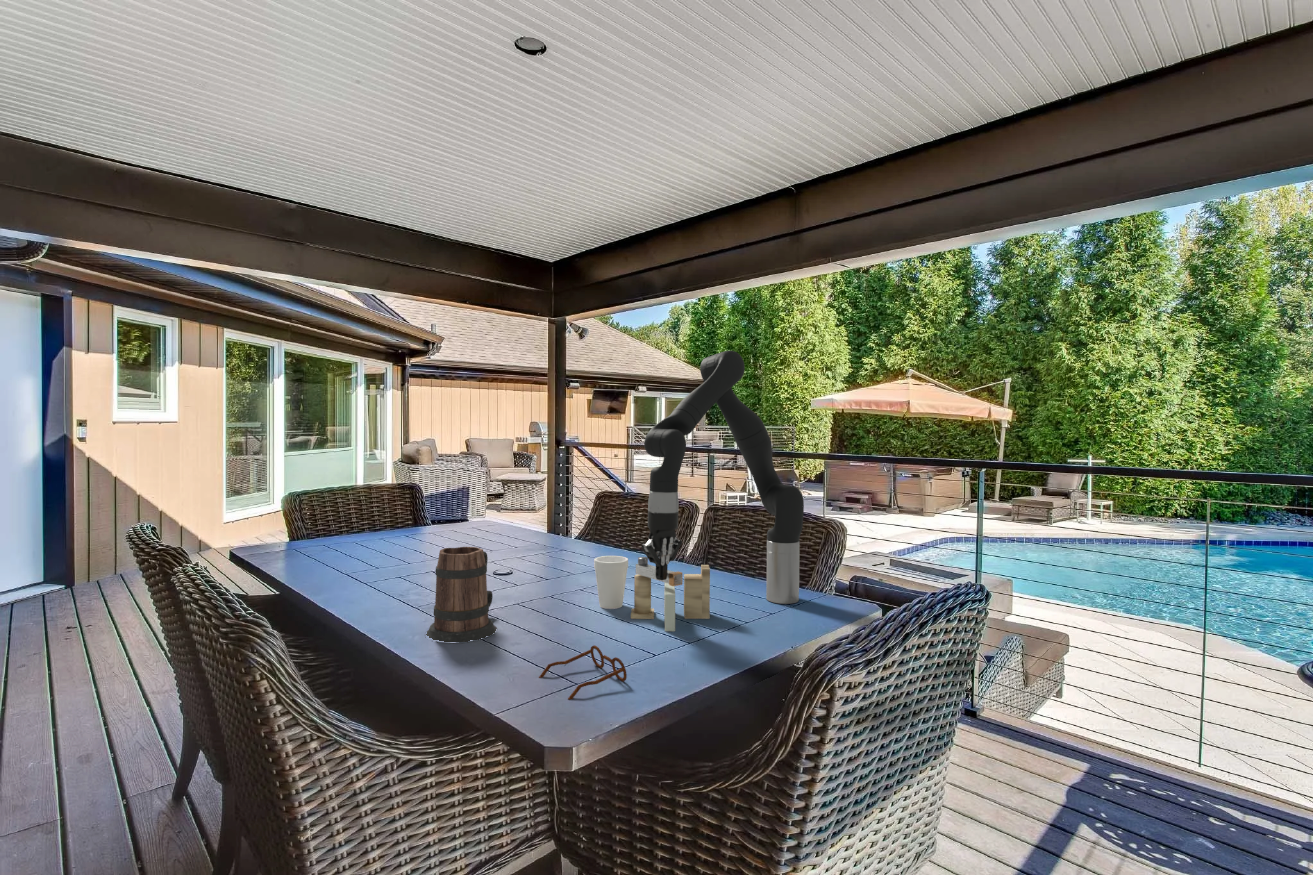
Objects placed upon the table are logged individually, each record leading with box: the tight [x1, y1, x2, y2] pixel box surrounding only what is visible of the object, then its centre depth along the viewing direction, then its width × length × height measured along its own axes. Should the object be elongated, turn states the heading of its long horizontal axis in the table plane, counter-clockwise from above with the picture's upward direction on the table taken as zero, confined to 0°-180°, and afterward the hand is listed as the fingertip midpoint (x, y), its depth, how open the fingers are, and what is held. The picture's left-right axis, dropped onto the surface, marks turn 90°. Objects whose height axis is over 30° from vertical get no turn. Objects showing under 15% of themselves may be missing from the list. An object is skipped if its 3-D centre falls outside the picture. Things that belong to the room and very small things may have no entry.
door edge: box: [663, 582, 676, 632], centre depth 167 cm, size 16×2×9 cm, turn 0°
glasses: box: [538, 644, 628, 701], centre depth 129 cm, size 13×13×5 cm
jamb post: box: [630, 574, 655, 620], centre depth 172 cm, size 6×6×10 cm
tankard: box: [426, 546, 498, 643], centre depth 161 cm, size 24×17×20 cm
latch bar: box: [635, 556, 683, 587], centre depth 167 cm, size 16×3×5 cm, turn 39°
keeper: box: [683, 564, 711, 620], centre depth 172 cm, size 5×6×13 cm
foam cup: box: [593, 555, 629, 610], centre depth 181 cm, size 10×9×13 cm
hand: (661, 579), depth 162 cm, fingers closed
